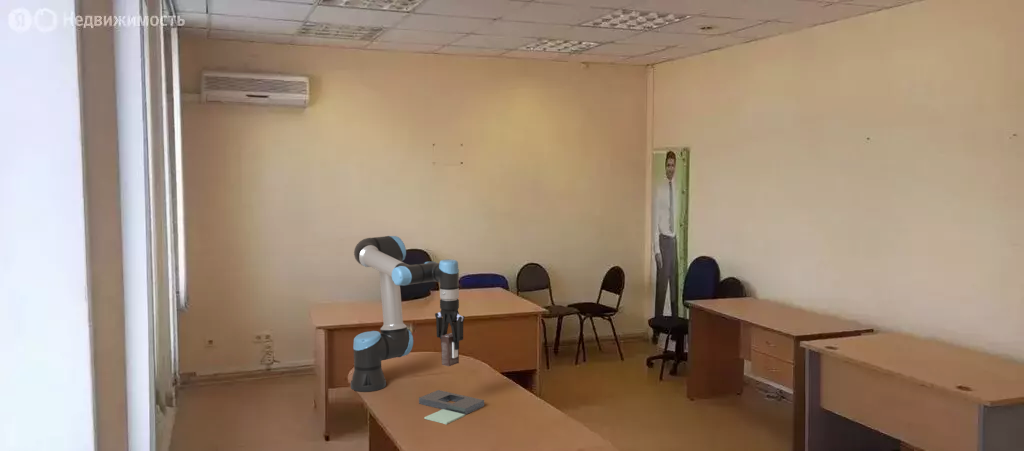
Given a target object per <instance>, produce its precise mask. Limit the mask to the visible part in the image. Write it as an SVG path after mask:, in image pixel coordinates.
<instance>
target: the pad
mask: <svg viewBox="0 0 1024 451" xmlns="http://www.w3.org/2000/svg"><path fill="white" fill-rule="evenodd" d="M464 417H466V415H465V414H461V413H457V412H453V411H449V410H445V409H440V410H438V411H436V412H433V413H431V414H428V415H426V416H424V418H423V419H425V420H428V421H432V422H436V423H440V424H442V425H443V424H444V425H448V424H451V423H453V422H456V421H457V420H459V419H461V418H464Z"/></svg>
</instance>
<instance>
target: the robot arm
mask: <svg viewBox="0 0 1024 451" xmlns="http://www.w3.org/2000/svg"><path fill="white" fill-rule="evenodd" d="M353 255H354V259H355V261H356V262H357V263H358V264H359V265H361V266H363V267H365V268H372V269H375V270H376V271H377V272H379V273H378V274H379V284H380V296H381V297H380V298H381V306H382V307H381V308H382V309H381V310H382V320H383V325H382V326H381V327H380V331H377V330H371V331H364V332H361V333H359V334H357V335H356V336H355V337H354V338H353V345H352V346H353V348H352V349H353V368H354V369H353V373H352V378H351V381H350V389H351V390H352V391H354V392H364V393H365V392H374V391H380V390H382V389H384V388H386V386H387V379H386V378H385V374H384V371H383V369H382V361H385V360H391V359H396V358H401V357H404V356H407V355H409V354H410V353H411V351H412V350H413V346H414V336H413V333H412V331H411V330H410V329H408V326H407V325H406V324H405V323H404V318H403V307H402V306H403V305H402V294H401V286H403V287H404V286H409V285H414V284H415V285H417V284H422V283H431V282H437V283H439V298H440V300H439V308H440V311H439V312H436V313H434V316H435V319H436V321H435V323H436V328H435V329H436V337H437V338H439V339H440V340H441V336H442V335H446V334H448V330H449V325H450V328H451V333H452V335H453V340H454V341H453V342H452V358H456V357H458V349H459V350H460V342H461V341H463V340H464V321H465V316H464V315H461V314H460V312H459V309H460V308H459V307H460V299H459V298H460V288H459V286H460V282H459V281H460V278H459V273H460V272H459V271H460V269H459V262H458V261H457V260H455V259H441V260H439V262H437V261H425V262H423V263H417V264H407V263H406V262H403V261H404V260H405V259H406V256H407V249H406V245H405V243H404V241H403V240H402V239H401V238H400V237H399V236H397V235H387V236H376V237H366V238H363V239H362V240H360V241H358V243H356V245H355V247H354V252H353ZM456 338H457V339H456Z"/></svg>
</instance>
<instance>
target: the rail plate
mask: <svg viewBox="0 0 1024 451" xmlns="http://www.w3.org/2000/svg"><path fill="white" fill-rule="evenodd" d="M450 401H451V402H450ZM418 404H420V405H423V406H427V407H431V408H435V409H438V410H439V409H440V410H442V409H445V410H449V411H453V412H457V413H461V414H465V416H467V415H468V414H470V413H473V412H475V411H477V410H479V409H482V408H484V407H485V399H480V398H478V397H477V398H476V397H471V396H467V395H463V394H458V393H454V392H450V391H449V392H448V391H445V390H441V389H437V390H435V391H433V392H430V393H427V394H425V395H422V396H419V397H418Z"/></svg>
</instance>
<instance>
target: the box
mask: <svg viewBox="0 0 1024 451" xmlns="http://www.w3.org/2000/svg"><path fill="white" fill-rule="evenodd" d="M456 339H457V338H456ZM453 341H454V340H453V335H452V332H450V333H447V334H446V335H442V336H441V339H440V347H441V365H442V366H446V367H451V366H454V365H456V364H460V362H459V361H460V358H459V357H460V356H459V355H460V354H459V351H460V348H459V349H458V357H456V358H452V342H453Z"/></svg>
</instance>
